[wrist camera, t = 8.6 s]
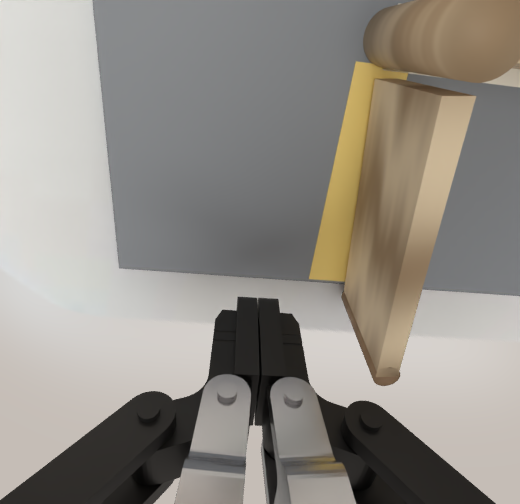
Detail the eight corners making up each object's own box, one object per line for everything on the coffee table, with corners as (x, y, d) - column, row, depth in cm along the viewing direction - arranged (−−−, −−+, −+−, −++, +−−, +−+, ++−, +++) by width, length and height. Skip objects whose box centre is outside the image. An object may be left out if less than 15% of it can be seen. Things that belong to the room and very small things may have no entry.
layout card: (828, -88, 14) (846, -92, 13) (570, 295, 23) (575, 300, 23) (73, -233, 11) (67, -243, 11) (121, 264, 20) (118, 268, 20)
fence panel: (372, 78, 15) (438, 96, 10) (400, 78, 15) (479, 95, 10) (340, 303, 21) (371, 386, 16) (360, 303, 22) (397, 385, 16)
